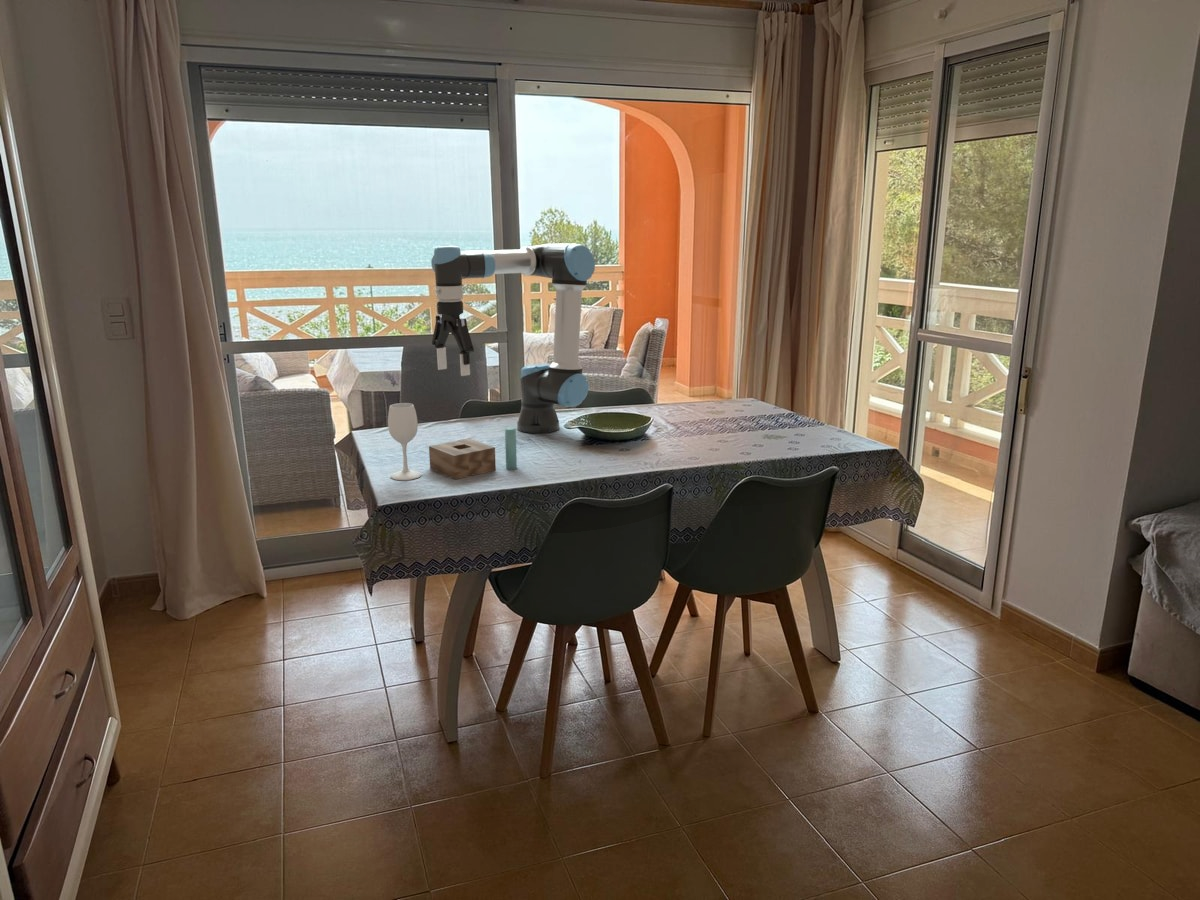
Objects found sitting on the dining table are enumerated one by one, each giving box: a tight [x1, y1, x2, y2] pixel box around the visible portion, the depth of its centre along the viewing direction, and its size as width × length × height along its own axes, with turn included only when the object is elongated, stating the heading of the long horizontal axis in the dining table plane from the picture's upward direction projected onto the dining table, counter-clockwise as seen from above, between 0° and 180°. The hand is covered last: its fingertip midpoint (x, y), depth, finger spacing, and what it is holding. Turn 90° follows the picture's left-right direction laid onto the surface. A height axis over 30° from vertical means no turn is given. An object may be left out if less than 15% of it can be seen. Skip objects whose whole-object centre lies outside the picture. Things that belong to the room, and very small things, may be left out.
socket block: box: [428, 438, 497, 480], centre depth 238 cm, size 14×14×7 cm
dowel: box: [504, 427, 518, 470], centre depth 239 cm, size 3×3×12 cm
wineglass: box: [387, 402, 422, 481], centre depth 229 cm, size 9×9×21 cm
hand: (453, 372), depth 240 cm, fingers open, 13 cm apart
